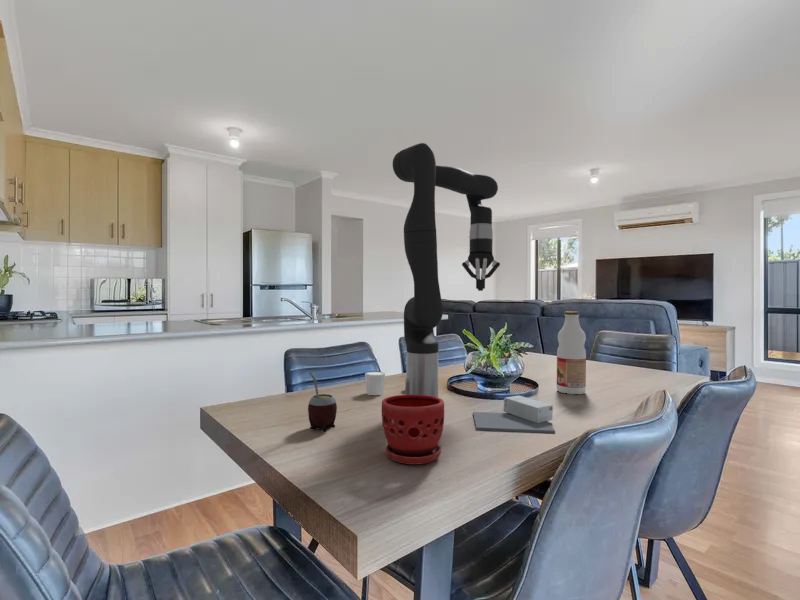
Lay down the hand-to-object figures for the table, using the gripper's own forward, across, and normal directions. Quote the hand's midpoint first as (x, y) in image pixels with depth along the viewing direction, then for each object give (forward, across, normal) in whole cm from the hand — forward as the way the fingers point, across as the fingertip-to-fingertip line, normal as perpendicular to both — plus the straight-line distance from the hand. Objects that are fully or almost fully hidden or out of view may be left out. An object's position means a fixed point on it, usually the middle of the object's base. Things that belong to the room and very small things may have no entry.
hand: (480, 290), depth 143 cm
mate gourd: (+35, -42, -41) cm, 68 cm away
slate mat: (+35, +6, -30) cm, 46 cm away
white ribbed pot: (+35, -35, -3) cm, 50 cm away
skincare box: (+32, +7, -20) cm, 39 cm away
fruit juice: (+35, +32, +9) cm, 48 cm away
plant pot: (+35, -18, -56) cm, 69 cm away
